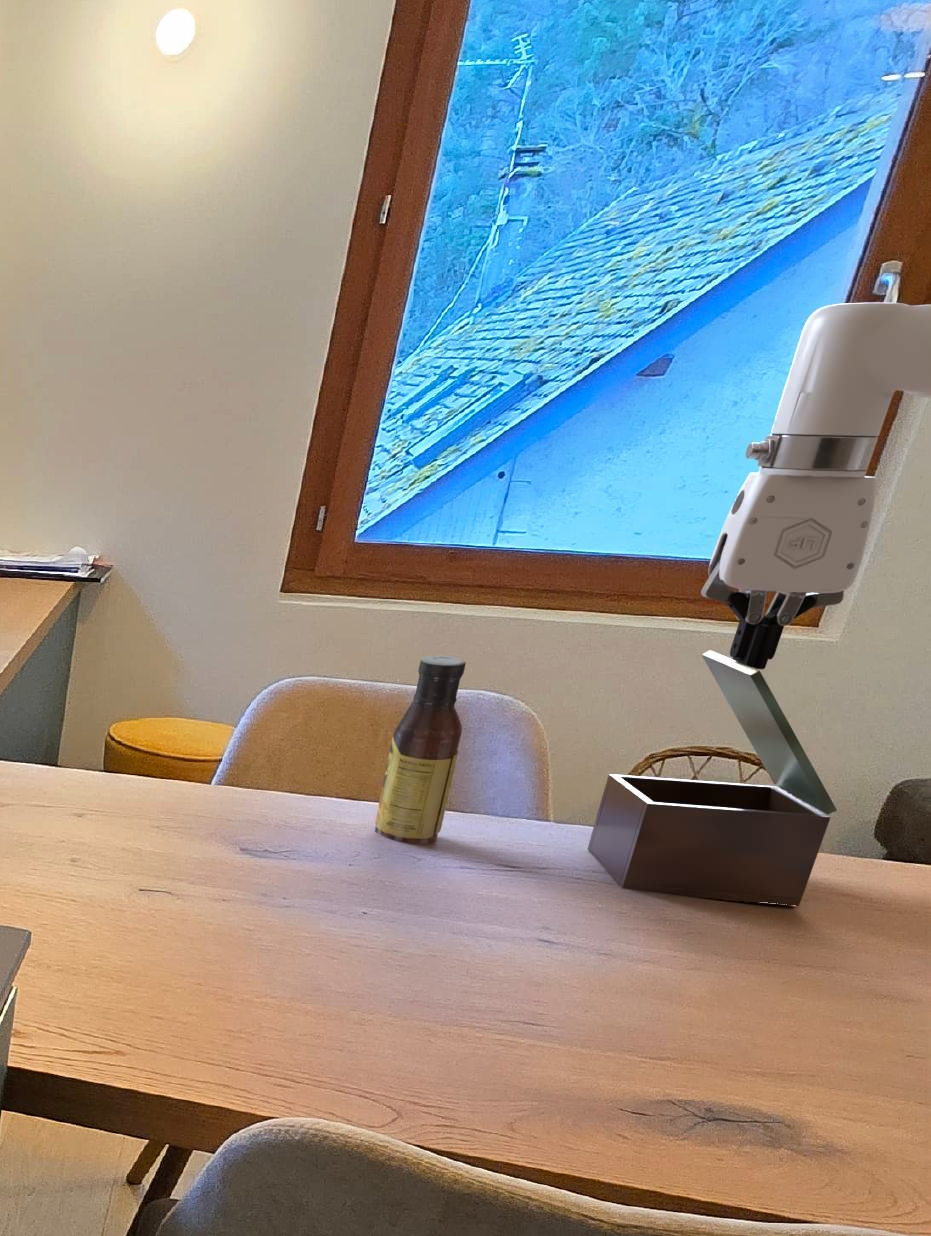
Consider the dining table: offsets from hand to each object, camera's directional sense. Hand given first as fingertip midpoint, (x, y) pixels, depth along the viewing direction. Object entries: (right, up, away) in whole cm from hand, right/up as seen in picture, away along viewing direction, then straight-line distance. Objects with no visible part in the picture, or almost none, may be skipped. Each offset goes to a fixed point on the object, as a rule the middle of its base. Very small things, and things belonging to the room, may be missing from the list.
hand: (747, 666), depth 127 cm
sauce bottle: (-22, -15, +18) cm, 33 cm away
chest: (0, -20, +8) cm, 21 cm away
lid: (+3, -6, +2) cm, 7 cm away
